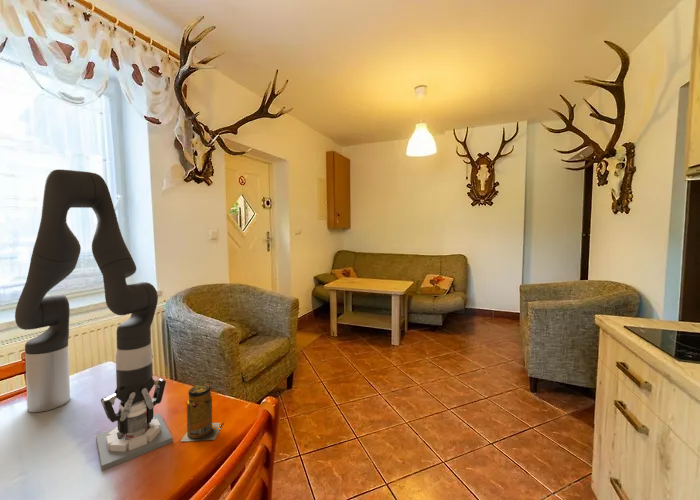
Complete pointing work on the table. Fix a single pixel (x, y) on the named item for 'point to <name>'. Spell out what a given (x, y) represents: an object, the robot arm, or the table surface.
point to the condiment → (200, 415)
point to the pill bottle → (136, 420)
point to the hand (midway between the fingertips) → (136, 426)
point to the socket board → (133, 453)
